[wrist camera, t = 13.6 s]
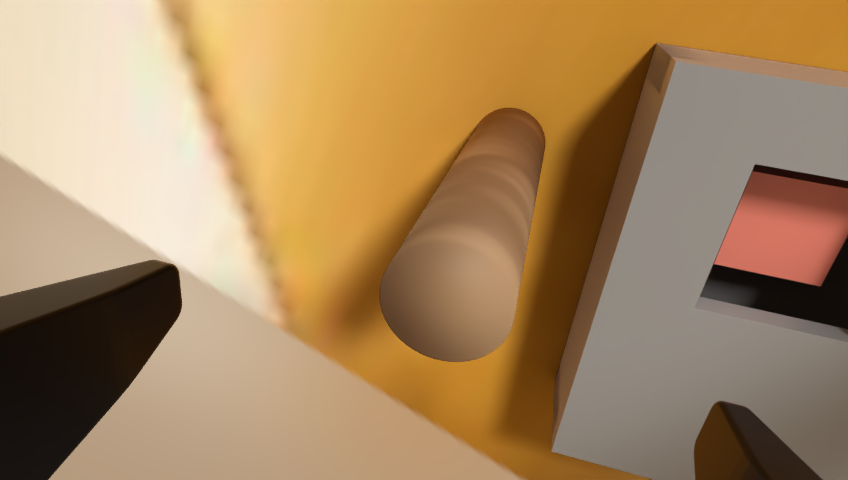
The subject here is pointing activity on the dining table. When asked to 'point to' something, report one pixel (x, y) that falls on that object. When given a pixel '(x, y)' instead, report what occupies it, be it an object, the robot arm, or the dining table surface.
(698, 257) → the panel
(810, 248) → the button
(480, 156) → the tan rounded rod
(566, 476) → the dining table surface
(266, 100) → the dining table surface
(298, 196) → the dining table surface
